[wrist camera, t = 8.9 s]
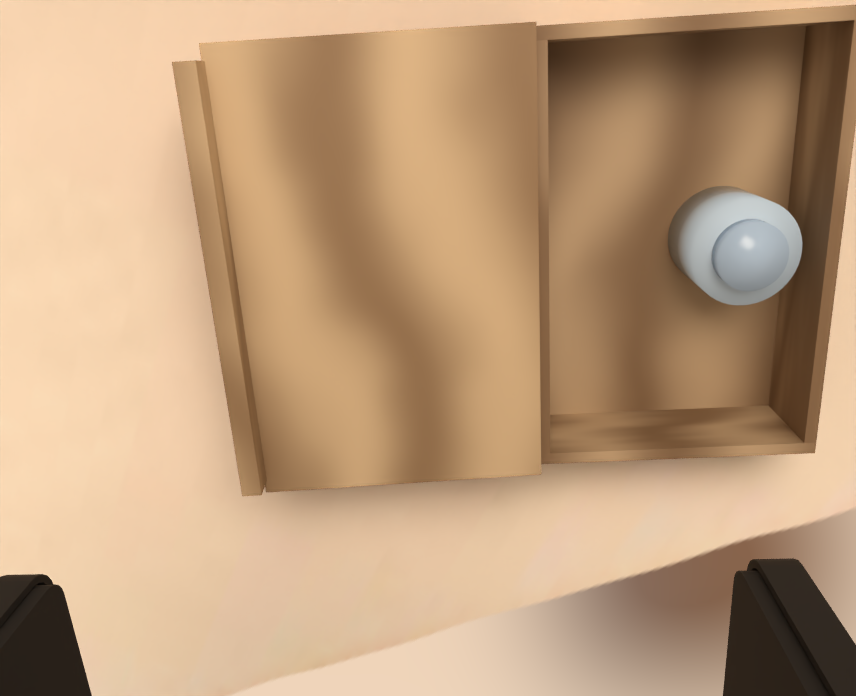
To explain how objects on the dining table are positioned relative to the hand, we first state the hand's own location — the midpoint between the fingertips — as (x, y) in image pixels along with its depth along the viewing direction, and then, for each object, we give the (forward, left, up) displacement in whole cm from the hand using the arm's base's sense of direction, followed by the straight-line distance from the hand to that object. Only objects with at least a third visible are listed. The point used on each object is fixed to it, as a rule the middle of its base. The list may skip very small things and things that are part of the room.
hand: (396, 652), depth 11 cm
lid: (+2, 0, -19) cm, 20 cm away
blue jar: (-13, 0, -26) cm, 29 cm away
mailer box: (-10, 0, -26) cm, 28 cm away
